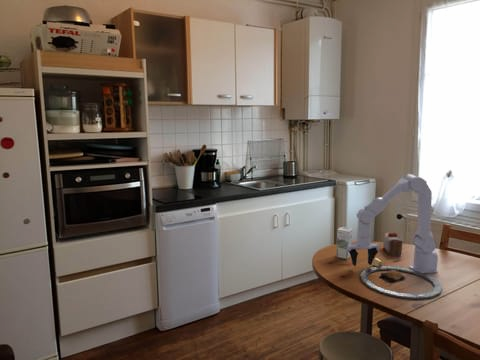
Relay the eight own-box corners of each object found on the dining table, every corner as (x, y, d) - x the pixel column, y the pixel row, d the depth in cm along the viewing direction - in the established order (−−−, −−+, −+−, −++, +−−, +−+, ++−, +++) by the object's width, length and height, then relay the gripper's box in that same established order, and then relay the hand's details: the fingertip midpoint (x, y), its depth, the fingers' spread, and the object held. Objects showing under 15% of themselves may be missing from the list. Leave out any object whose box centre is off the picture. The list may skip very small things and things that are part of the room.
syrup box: (351, 256, 195) (352, 228, 193) (347, 260, 190) (349, 230, 188) (339, 254, 198) (341, 226, 196) (335, 257, 193) (337, 228, 191)
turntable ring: (404, 262, 187) (405, 256, 187) (459, 295, 153) (460, 288, 152) (343, 266, 181) (344, 259, 181) (386, 301, 147) (386, 293, 146)
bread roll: (391, 273, 176) (391, 265, 176) (408, 279, 169) (408, 271, 169) (375, 278, 171) (376, 270, 170) (392, 285, 164) (393, 276, 163)
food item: (381, 246, 210) (382, 229, 209) (396, 247, 210) (397, 229, 208) (387, 255, 197) (389, 236, 195) (404, 256, 196) (405, 237, 195)
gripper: (374, 232, 182) (372, 260, 184) (344, 233, 179) (343, 262, 182) (382, 237, 175) (380, 266, 177) (352, 238, 172) (350, 268, 175)
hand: (361, 264), depth 179 cm, fingers open, 7 cm apart
